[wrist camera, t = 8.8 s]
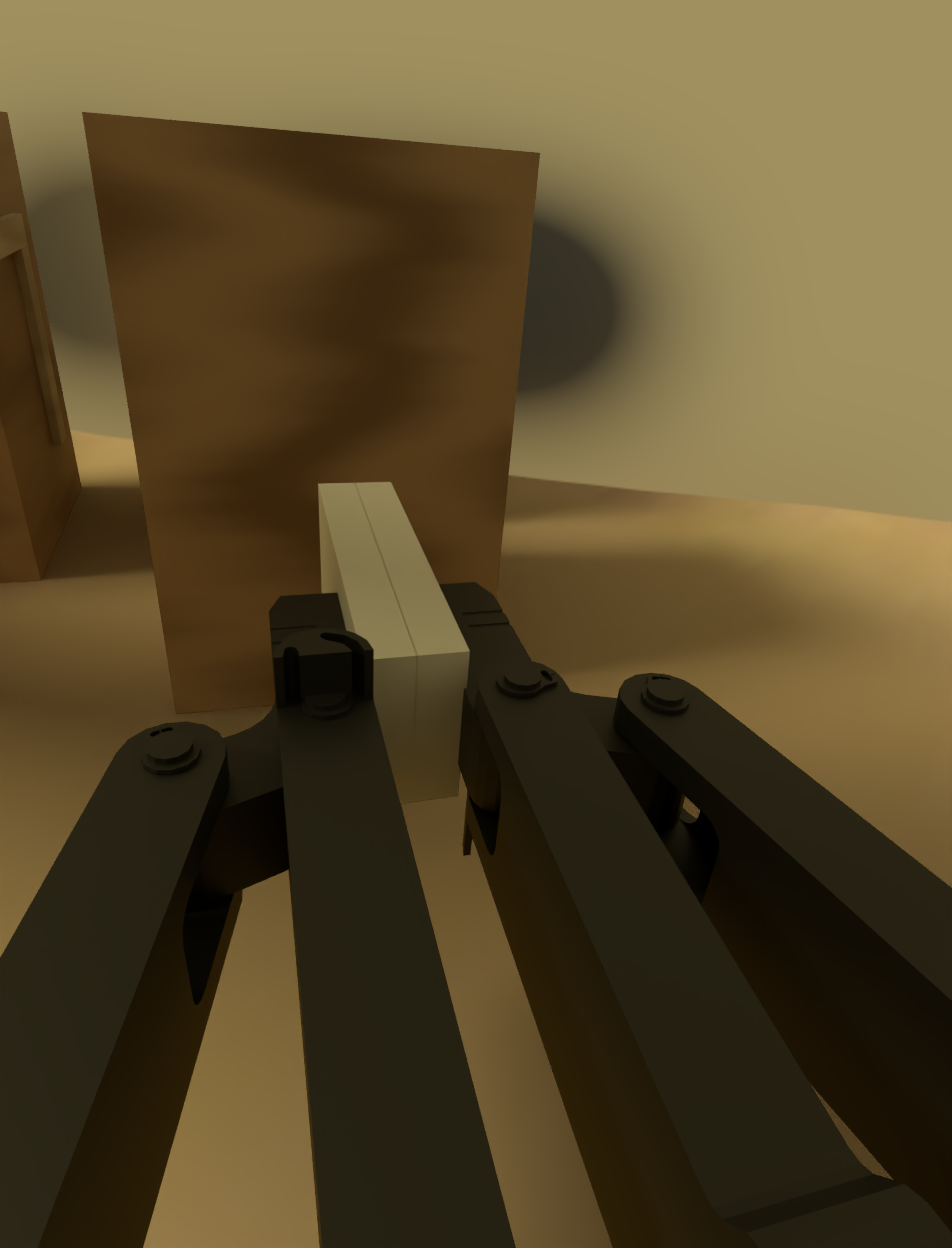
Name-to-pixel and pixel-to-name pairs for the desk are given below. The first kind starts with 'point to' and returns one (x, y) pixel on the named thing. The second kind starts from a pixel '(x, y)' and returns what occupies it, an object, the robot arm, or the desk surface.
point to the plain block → (306, 359)
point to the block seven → (28, 397)
